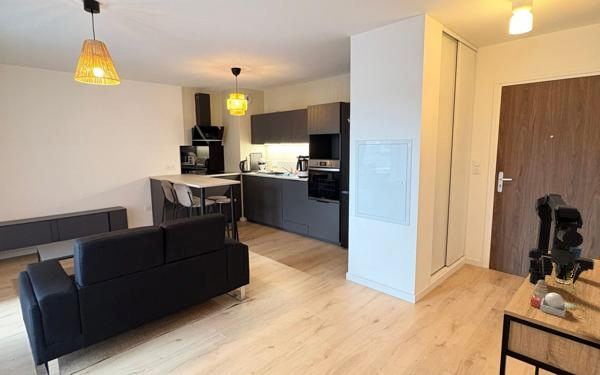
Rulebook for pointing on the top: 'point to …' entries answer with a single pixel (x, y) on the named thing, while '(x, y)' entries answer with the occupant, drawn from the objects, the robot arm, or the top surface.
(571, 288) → the top surface
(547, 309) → the game board
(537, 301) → the red die
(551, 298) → the white ball
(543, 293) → the pawn
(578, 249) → the cup
